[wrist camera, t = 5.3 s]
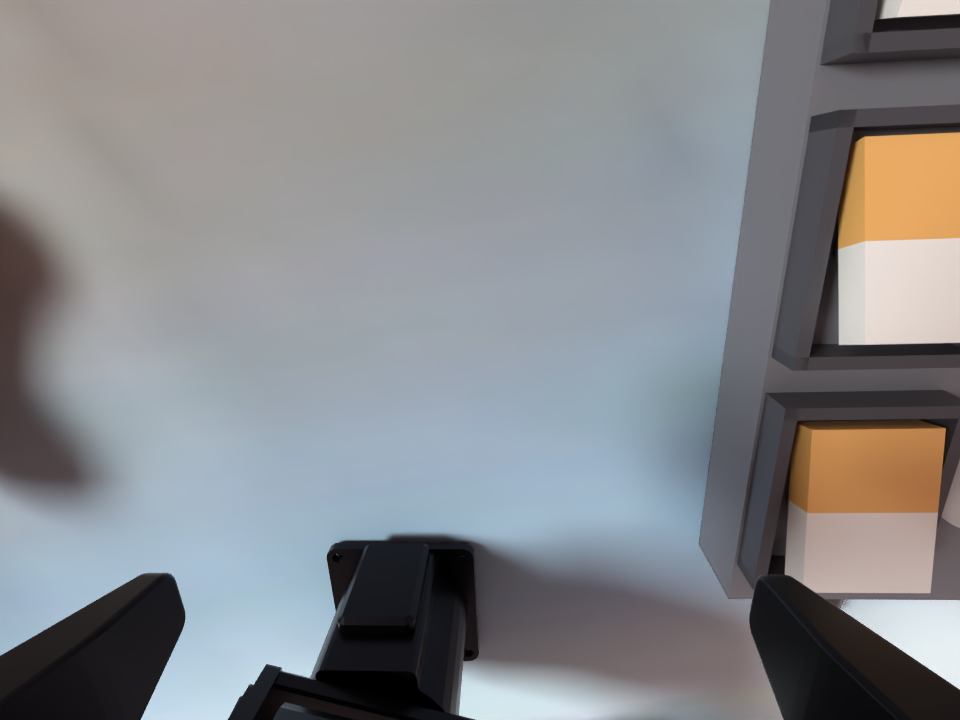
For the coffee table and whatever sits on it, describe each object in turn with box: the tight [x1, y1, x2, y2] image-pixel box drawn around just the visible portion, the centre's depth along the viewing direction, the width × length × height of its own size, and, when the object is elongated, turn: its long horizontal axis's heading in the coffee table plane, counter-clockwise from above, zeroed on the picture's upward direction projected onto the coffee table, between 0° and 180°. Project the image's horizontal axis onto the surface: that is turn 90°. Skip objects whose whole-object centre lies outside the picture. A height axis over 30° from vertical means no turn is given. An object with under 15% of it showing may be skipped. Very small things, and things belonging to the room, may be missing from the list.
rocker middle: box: [832, 132, 960, 345], centre depth 13 cm, size 5×4×1 cm
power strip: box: [699, 0, 960, 609], centre depth 15 cm, size 29×10×4 cm, turn 2°
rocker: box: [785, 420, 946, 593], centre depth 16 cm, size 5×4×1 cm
